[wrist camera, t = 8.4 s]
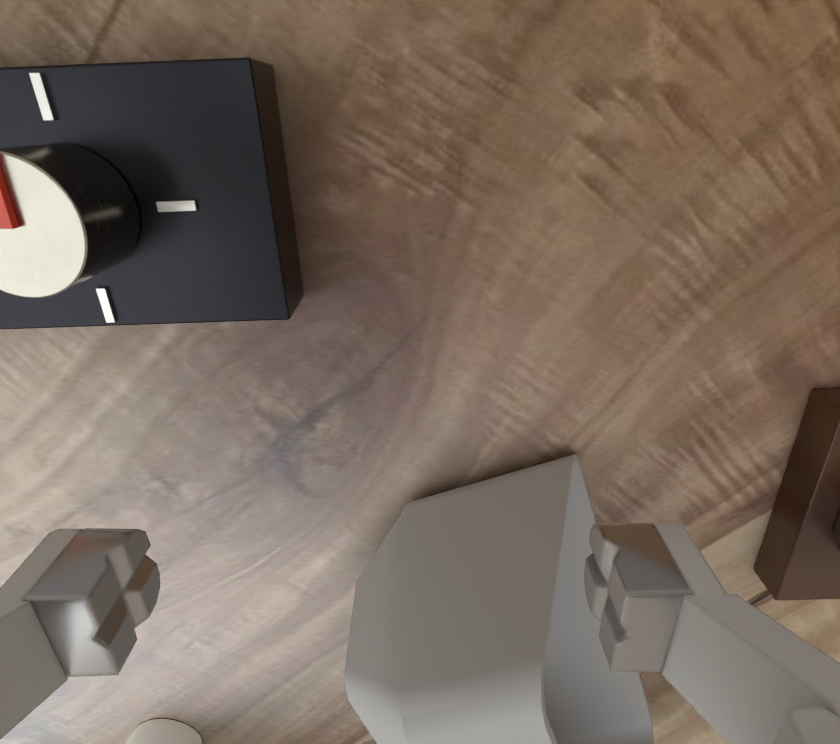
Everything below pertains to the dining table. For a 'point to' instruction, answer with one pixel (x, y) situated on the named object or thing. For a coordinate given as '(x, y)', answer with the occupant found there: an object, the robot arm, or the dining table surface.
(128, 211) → the knob
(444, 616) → the grey storage bin
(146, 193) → the panel
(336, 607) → the dining table surface
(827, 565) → the button block
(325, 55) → the dining table surface
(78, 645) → the robot arm
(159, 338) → the dining table surface
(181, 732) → the white tapered cylinder
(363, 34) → the dining table surface
